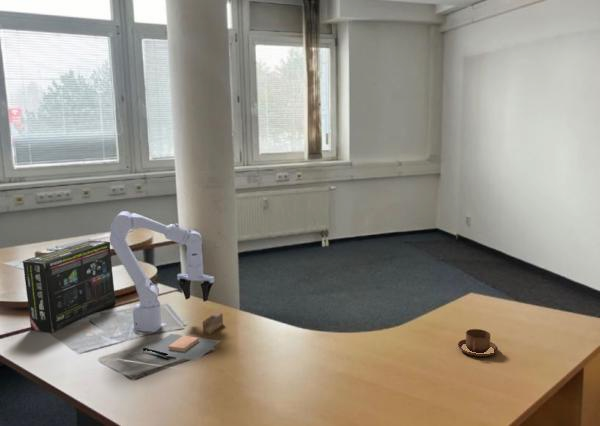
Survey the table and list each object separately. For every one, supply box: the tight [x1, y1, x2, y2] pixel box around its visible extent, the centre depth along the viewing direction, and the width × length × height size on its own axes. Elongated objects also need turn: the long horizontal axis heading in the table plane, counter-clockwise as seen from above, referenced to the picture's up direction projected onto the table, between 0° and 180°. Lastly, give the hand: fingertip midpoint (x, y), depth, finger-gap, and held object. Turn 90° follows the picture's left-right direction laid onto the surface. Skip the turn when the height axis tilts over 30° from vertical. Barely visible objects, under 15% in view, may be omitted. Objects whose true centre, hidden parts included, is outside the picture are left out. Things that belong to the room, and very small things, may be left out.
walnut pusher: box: [202, 312, 224, 335], centre depth 190 cm, size 2×10×5 cm, turn 160°
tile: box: [168, 335, 200, 352], centre depth 176 cm, size 6×1×9 cm
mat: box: [142, 333, 221, 361], centre depth 176 cm, size 20×16×1 cm
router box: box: [22, 240, 117, 333], centre depth 206 cm, size 36×11×27 cm, turn 160°
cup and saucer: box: [457, 328, 499, 357], centre depth 168 cm, size 12×12×6 cm
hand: (196, 299), depth 196 cm, fingers open, 7 cm apart
